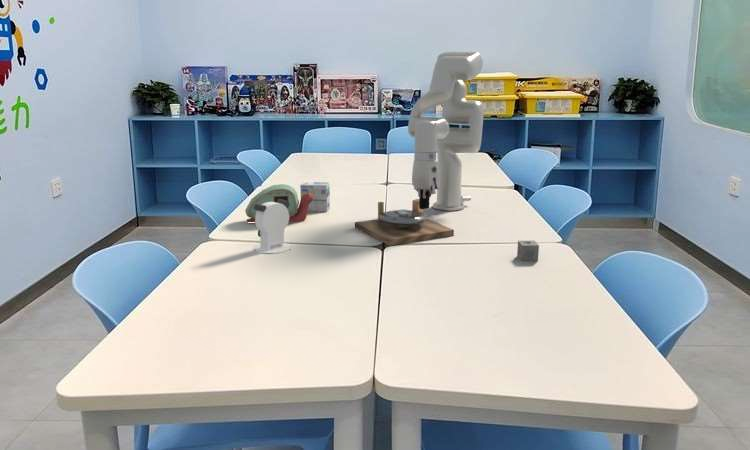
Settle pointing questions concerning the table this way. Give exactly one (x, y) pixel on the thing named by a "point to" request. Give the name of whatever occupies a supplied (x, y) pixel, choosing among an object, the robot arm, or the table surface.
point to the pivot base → (402, 230)
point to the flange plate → (403, 219)
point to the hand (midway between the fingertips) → (424, 208)
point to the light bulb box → (317, 195)
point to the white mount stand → (272, 226)
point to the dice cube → (527, 250)
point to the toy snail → (285, 194)
